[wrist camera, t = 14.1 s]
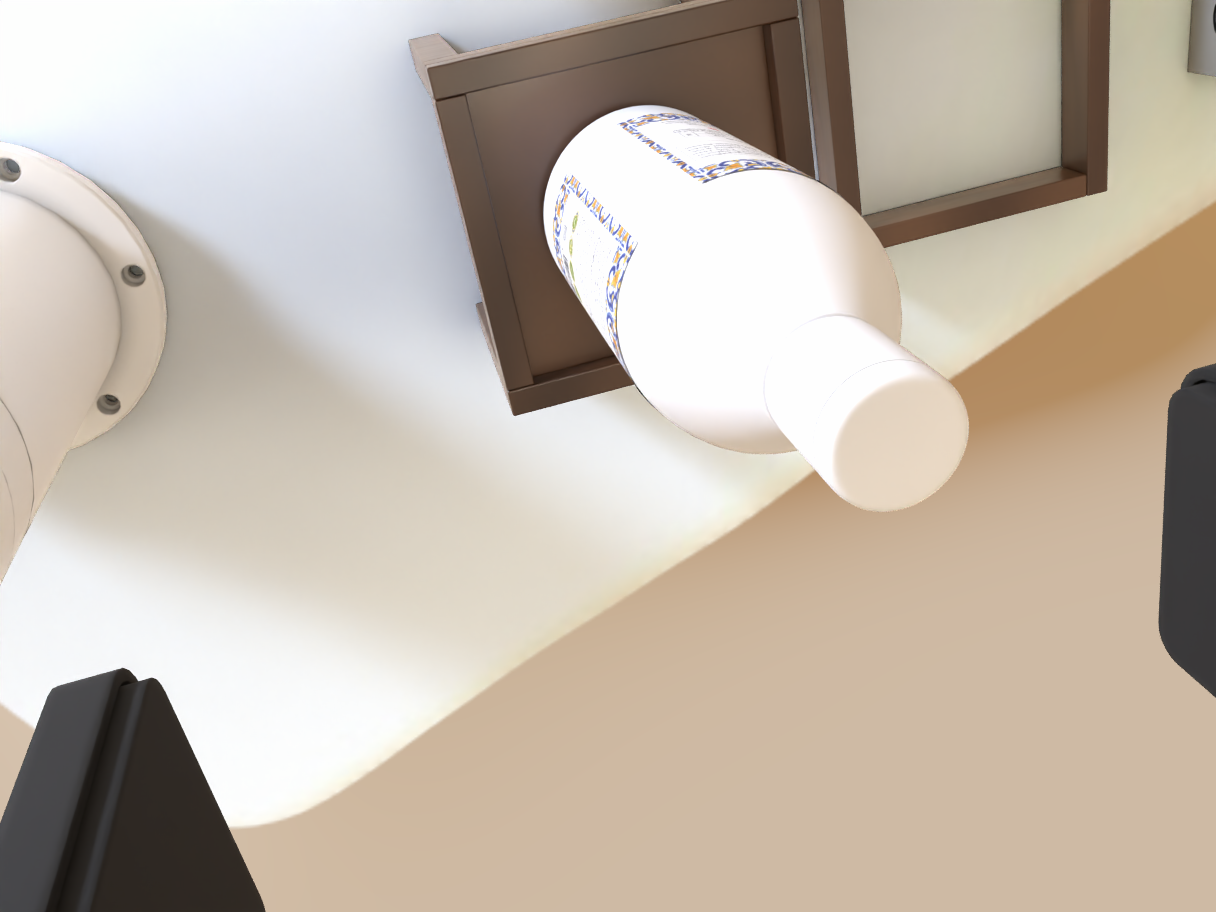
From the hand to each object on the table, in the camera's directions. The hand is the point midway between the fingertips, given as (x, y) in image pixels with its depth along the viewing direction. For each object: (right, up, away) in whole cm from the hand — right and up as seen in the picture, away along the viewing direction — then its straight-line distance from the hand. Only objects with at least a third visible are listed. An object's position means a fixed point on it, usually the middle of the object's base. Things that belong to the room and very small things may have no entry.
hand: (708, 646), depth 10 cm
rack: (+6, +16, +37) cm, 41 cm away
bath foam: (0, +10, +28) cm, 30 cm away
